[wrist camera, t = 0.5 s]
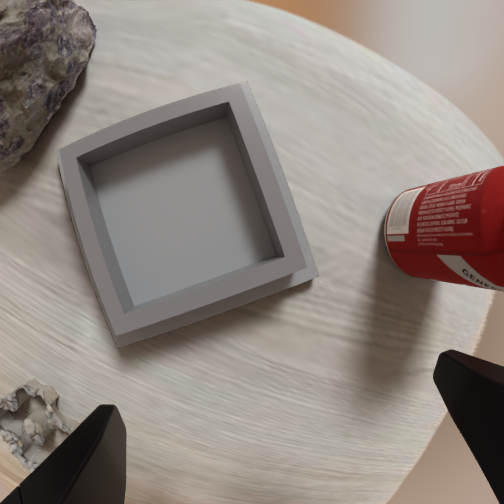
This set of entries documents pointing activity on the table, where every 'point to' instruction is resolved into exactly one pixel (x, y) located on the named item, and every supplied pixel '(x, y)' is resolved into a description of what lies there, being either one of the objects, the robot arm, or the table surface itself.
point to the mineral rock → (37, 67)
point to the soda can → (451, 230)
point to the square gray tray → (183, 214)
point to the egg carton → (32, 423)
